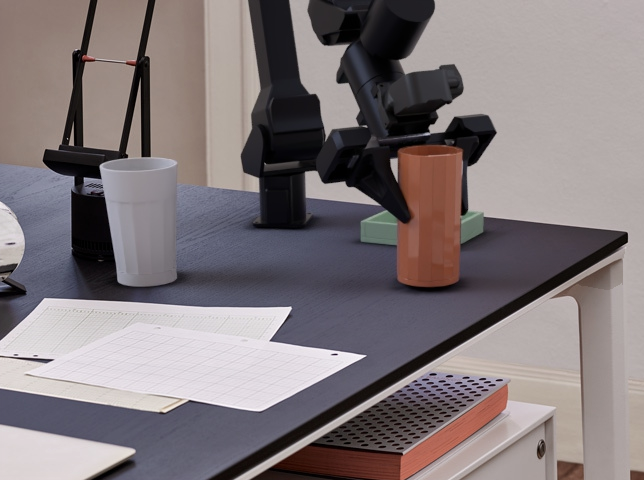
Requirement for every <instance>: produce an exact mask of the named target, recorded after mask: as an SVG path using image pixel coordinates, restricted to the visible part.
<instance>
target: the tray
mask: <svg viewBox="0 0 644 480" xmlns="http://www.w3.org/2000/svg"><path fill="white" fill-rule="evenodd" d="M484 217H485V212H484V211H475V210H468V212H467V213H466V215H465V216H461V245H462V244H464V243H466V242H468V241H469V240H471V239H473V238H475V237H477V236H478V235H481V234H482V233H484ZM360 242H361V243H369V244H377V245H378V244H379V245H380V244H381V245H389V246H397V218H396V217H395V216H393V215H392V214H391V213H390V212H388V211H387V210H386V209H385V210H383V211H380V212H379V213H377V214H374V215H372V216H370V217H367V218H364V219H363V220H361V221H360Z"/></svg>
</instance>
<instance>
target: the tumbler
mask: <svg viewBox="0 0 644 480" xmlns="http://www.w3.org/2000/svg"><path fill="white" fill-rule="evenodd" d="M462 175H463V150H462V149H461V148H459V147H454V146H446V145H415V146H408V147H404V148H401V149H399V150H398V158H397V177H396V181H397V183H398V185H399V187H400V190H401V192H402V194H403V197H404V199H405V201H406V204H407V206H408V210H409V213H410V216H411V218H410V220H409V222H408V223H407V224H403V223H402V222H401V221H399V220H398V219H397V245H396V275H397V276H396V279H397V282H399V283H400V284H403V285H407V286H412V287H420V288H436V287H447V286H449V285H453V284H455V283H458V282H459V280H460V273H461V246H462V244H461V212H462Z"/></svg>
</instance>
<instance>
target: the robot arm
mask: <svg viewBox="0 0 644 480" xmlns="http://www.w3.org/2000/svg"><path fill="white" fill-rule="evenodd" d="M290 2H291V1H290V0H247V4H248V11H249V17H250V18H249V19H250V23H251V30H252V31H251V32H252V38H253V45H254V53H255V59H256V66H257V73H258V79H259V80H258V81H259V93H258V96H257V97H256V99H255V103H254V105H253V107H252V110H251V113H250V119H251V122H250V123H251V130H250V131H249V134H248V137H247V139H246V141H245V143H244V146H243V148H242V151H241V153H240V162H241V168H242V172H243V173H244V174H246V175H249V176H252V177H254V178H257V179H258V196H259V215H258V216H257V218H255V219H254V220H253V222H252V227H255V228H257V227H259V228H305V227H306V226H307V225H308V223H310V221H311V220H312V219H313V218H314V213H313V212H307V187H306V186H307V183H306V173H308V172H317V174H318V176H319V179H320V181H321V183H323V184H324V185H328V184H336V183H344V184H345V186H346V187H347V188H355V189H356V190H358V191H359V192H361V193H362V194H364V195H365V196H367V197H368V198H370V199H371V200H373V201H374V202H376V203H377V205H379V206H380V207H382V208H383V209H385V210H387V211H388V212H390V213H391V214H392V215H393V216H395V217H396V218H397V219H398V220H399V221H401V222H402V223H403V224H407V223H408V222H409V220H410V218H411V216H410V213H409V210H408V206H407V204H406V201H405V199H404V197H403V194H402V192H401V190H400V187H399V185H398V183H397V177H396V176H395V174H394V172H393V169H392V162H391V160H394V159H398V150H399V149H401V148H404V147H408V146H415V145H446V146H454V147H459V148H461V149H462V150H463V175H462V212H461V216H465V215H466V213H467V212H468V211H469V190H468V188H469V187H468V167H472V166H473V165H475V164H478V162H479V160H480V159H481V157H482V156H483V154H484V153H485V152H486V150H487V149H488V147H489V146H490V144H491V143H492V141H493V140H494V138H495V137H496V136H497V134H498V131H497V129H496V127H495V125H494V123H493V121H492V119H491V117H490V115H488V114H484V113H476V114H475V113H474V114H466V115H465V114H464V115H457V116H455V115H454V116H453V118H452V119H451V121H450V123H449V124H448V126H447V127H446V129H445V131H442V132H433V133H431V130H430V127H431V126H434V125H435V124H436V123H437V121H438V119H439V114H438V112H437V111H438V110H439V109H441V108H444V107H445V105H451V104H452V103H453V101H454V100H456V99H457V98H458V97H461V96H462V95H463V93H464V91H465V86H464V81H463V77H462V75H461V73H460V71H459V69H458V68H457V66H456V64H455V63H450V64H449V63H448V64H440V65H439V66H438V68H436V69H431V70H428V69H427V70H418V71H411V72H408V73H405V71H404V68H403V66H402V64H401V62H400V61H402V60H405V59H406V58H409V56H411V55H412V53H413V52H414V50H415V48H416V46H417V44H418V43H419V41H420V39H421V37H422V35H423V33H424V32H425V30H426V28H427V26H428V24H429V23H430V22H431V19H432V17H433V15H434V14H435V10H436V2H435V0H308V4H307V9H306V10H307V14H308V15H307V16H308V17H309V20H310V24H311V25H310V26H311V28H312V31H313V33H314V34H315V36H316V38H317V40H318V41H319V42H320V43H321V45H323V47H326V46H327V47H335V46H346V48H345V50H344V52H343V54H342V56H341V57H340V59H339V60H340V61H339V66H338V69H337V71H336V75H335V82H336V84H337V85H343V84H344V85H345V84H348V85H349V88H350V90H351V92H352V95H353V97H354V99H355V102H356V104H357V108H358V109H359V112H358V113H357V115H356V118H355V120H356V122H357V126H349V127H341V128H332V129H331V131H330V133H329V134H328V136H327V134H326V130H325V129H326V128H325V125H324V122H323V117H322V110H321V100H320V98H319V96H318V95H317V93H310V92H309V90H307V88H306V87H305V85H304V84H303V83H302V80H301V74H300V67H299V58H298V51H297V46H296V37H295V31H294V24H293V16H292V9H291V3H290Z"/></svg>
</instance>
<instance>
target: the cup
mask: <svg viewBox="0 0 644 480" xmlns="http://www.w3.org/2000/svg"><path fill="white" fill-rule="evenodd" d="M99 170H100V171H99V172H100V176H101V182H102V187H103V194H104V198H105V204H106V211H107V217H108V223H109V224H108V225H109V229H110V236H111V243H112V248H113V254H114V261H115V267H116V278H117V282H118V283H119V284H121V285H123V286H129V287H138V288H139V287H141V288H142V287H143V288H144V287H156V286H162V285H166V284H170V283H173V282H175V281H176V280H177V279H178V272H177V271H178V270H177V236H178V235H177V234H178V233H177V232H178V231H177V230H178V229H177V228H178V226H177V224H178V221H177V219H178V218H177V217H178V211H177V210H178V162H177V160H175V159H170V158H165V157H150V156H149V157H148V156H147V157H145V156H144V157H130V158H129V157H128V158H119V159H113V160H108V161H105V162H103V163H101V164H100V165H99Z"/></svg>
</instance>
